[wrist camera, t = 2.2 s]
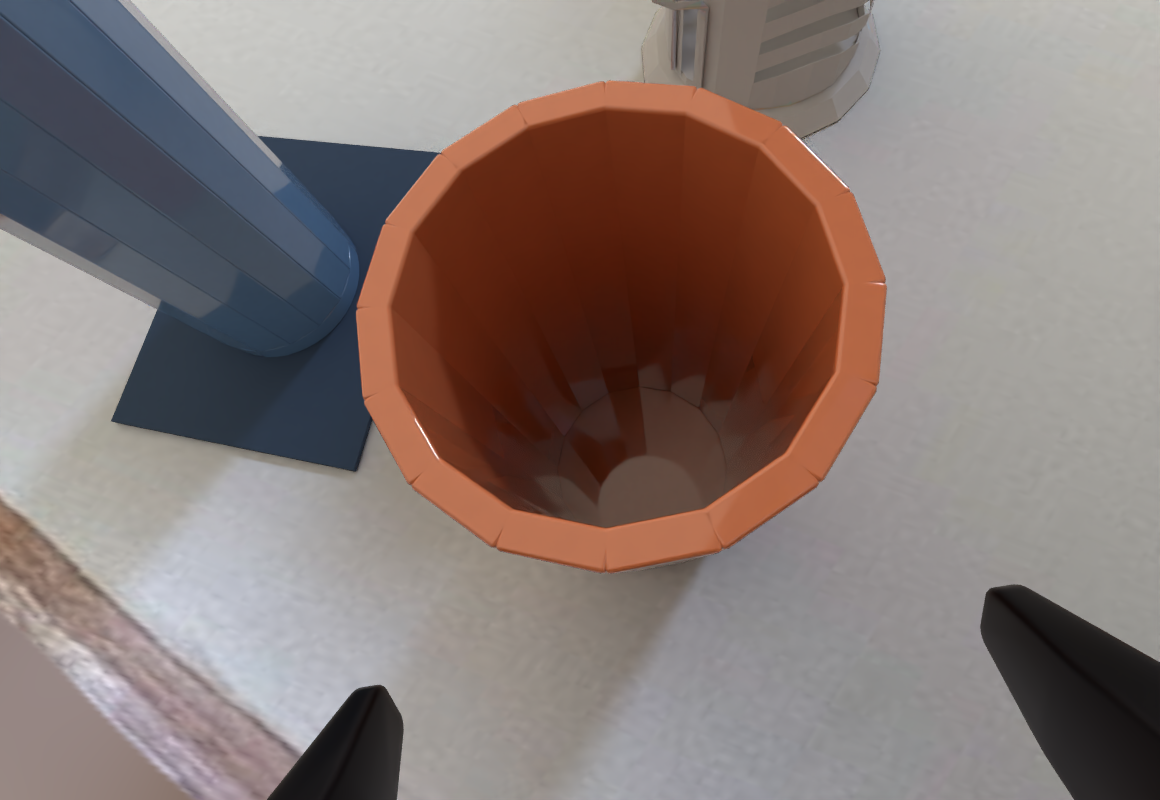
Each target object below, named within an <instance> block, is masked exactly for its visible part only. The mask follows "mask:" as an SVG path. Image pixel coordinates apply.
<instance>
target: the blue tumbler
mask: <svg viewBox="0 0 1160 800" xmlns="http://www.w3.org/2000/svg"><path fill="white" fill-rule="evenodd" d="M0 229H2V230H4V231H6V232H8V233H10V234H12V235H14V236H16V237H17V238H19V239H21V240H23V241H25V242H27V243H29V244H31V245H33V246H35V247H37V248H39V249H41V250H43V251H45V252H47V253H49V254H51V255H53V256H55V257H56V258H58V259H60V260H62V261H64V262H66V263H68V264H70V265H72V266H74V267H76V268H78V269H80V270H82V271H84V272H86V273H88V274H90V275H92V276H93V277H95V278H97V279H99V280H101V281H103V282H105V283H107V284H109V285H111V286H113V287H115V288H117V289H119V290H121V291H123V292H125V293H127V294H129V295H130V296H132V297H134V298H136V299H138V300H140V301H142V302H144V303H146V304H148V305H150V306H152V307H154V308H156V309H158V310H160V311H162V312H164V313H166V314H168V315H169V316H171V317H173V318H175V319H177V320H179V321H181V322H183V323H185V324H187V325H189V326H191V327H193V328H195V329H197V330H199V331H201V332H203V333H205V334H206V335H208V336H210V337H212V338H214V339H216V340H218V341H220V342H222V343H224V344H226V345H228V346H230V347H234V348H237V349H238V350H240V351H243V352H245V353H248V354H251V355H255V356H260V357H280V356H286V355H290V354H294V353H297V352H300V351H302V350H304V349H306V348H309V347H310V346H312V345H314V344H316V343H317V342H319V341H320V340H321V339H323V338H324V337H325V336H327V335H328V334H329V333H330V332H331V331H332V330H333V329H334V328H335V327H336V326H337V325H338V324H339V322H340V321H341V320H342V319H343V317H344V316H345V314H346V313H347V311H348V309H349V307H350V306H351V304H352V302H353V299H354V297H355V294H356V290H357V287H358V281H359V261H358V255H357V252H356V249H355V246H354V244H353V242H352V240H351V239H350V238H349V236H348V235H347V233H346V232H345V231H344V230H343V229H342V228H341V227H340V226H339V225H338V223H337V221H336V220H335V219H334V217H333V216H332V215H331V214H330V213H329V212H328V211H327V210H326V209H325V208H324V207H323V206H322V205H321V204H320V202H319V201H318V200H317V199H316V198H315V197H314V196H313V195H312V194H311V193H310V192H309V191H308V190H307V189H306V188H305V186H304V185H303V184H302V183H301V182H300V181H299V180H298V179H297V178H296V177H295V176H294V175H293V174H292V173H291V171H290V170H289V169H288V168H287V167H286V166H285V165H284V164H283V163H282V162H281V161H280V160H279V159H278V158H277V157H276V155H275V154H274V153H273V152H272V151H271V150H270V149H269V148H268V147H267V146H266V145H265V144H264V143H263V142H262V140H261V139H260V138H259V137H258V136H257V135H256V134H255V133H254V132H253V131H252V130H251V129H250V128H249V127H248V126H247V124H246V123H245V122H244V121H243V120H242V119H241V118H240V117H239V116H238V115H237V114H236V113H235V112H234V111H233V110H232V108H231V107H230V106H229V105H228V104H227V103H226V102H225V101H224V100H223V99H222V98H221V97H220V96H219V95H218V93H217V92H216V91H215V90H214V89H213V88H212V87H211V86H210V85H209V84H208V83H207V82H206V81H205V80H204V79H203V77H202V76H201V75H200V74H199V73H198V72H197V71H196V70H195V69H194V68H193V67H192V66H191V65H190V64H189V62H188V61H187V60H186V59H185V58H184V57H183V56H182V55H181V54H180V53H179V52H178V51H177V50H176V49H175V48H174V46H173V45H172V44H171V43H170V42H169V41H168V40H167V39H166V38H165V37H164V36H163V35H162V34H161V33H160V31H159V30H158V29H157V28H156V27H155V26H154V25H153V24H152V23H151V22H150V21H149V20H148V19H147V18H146V17H145V15H144V14H143V13H142V12H141V11H140V10H139V9H138V8H137V7H136V6H135V5H134V4H133V3H132V2H131V0H0Z"/></svg>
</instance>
